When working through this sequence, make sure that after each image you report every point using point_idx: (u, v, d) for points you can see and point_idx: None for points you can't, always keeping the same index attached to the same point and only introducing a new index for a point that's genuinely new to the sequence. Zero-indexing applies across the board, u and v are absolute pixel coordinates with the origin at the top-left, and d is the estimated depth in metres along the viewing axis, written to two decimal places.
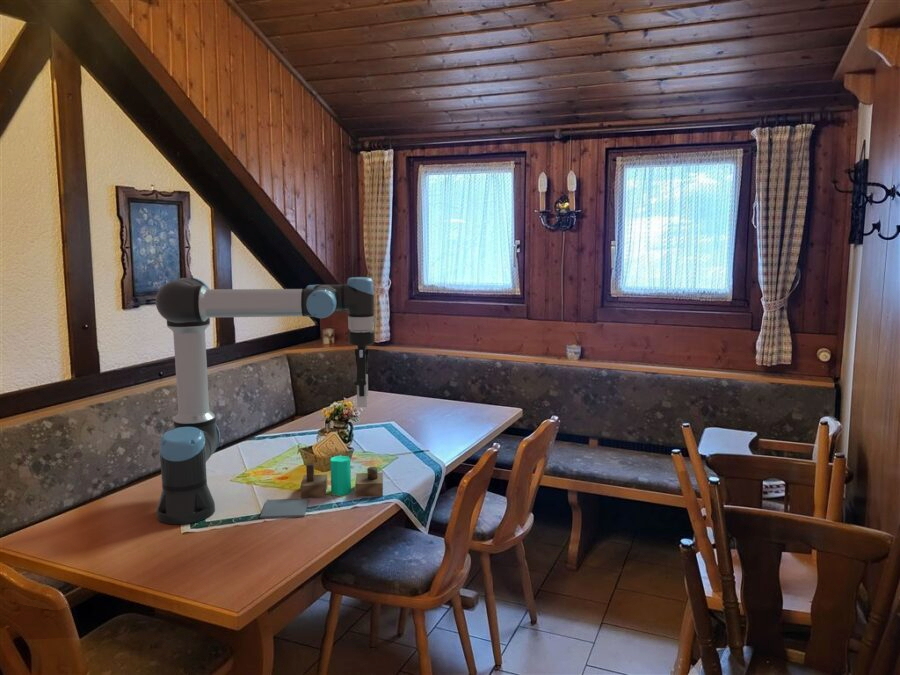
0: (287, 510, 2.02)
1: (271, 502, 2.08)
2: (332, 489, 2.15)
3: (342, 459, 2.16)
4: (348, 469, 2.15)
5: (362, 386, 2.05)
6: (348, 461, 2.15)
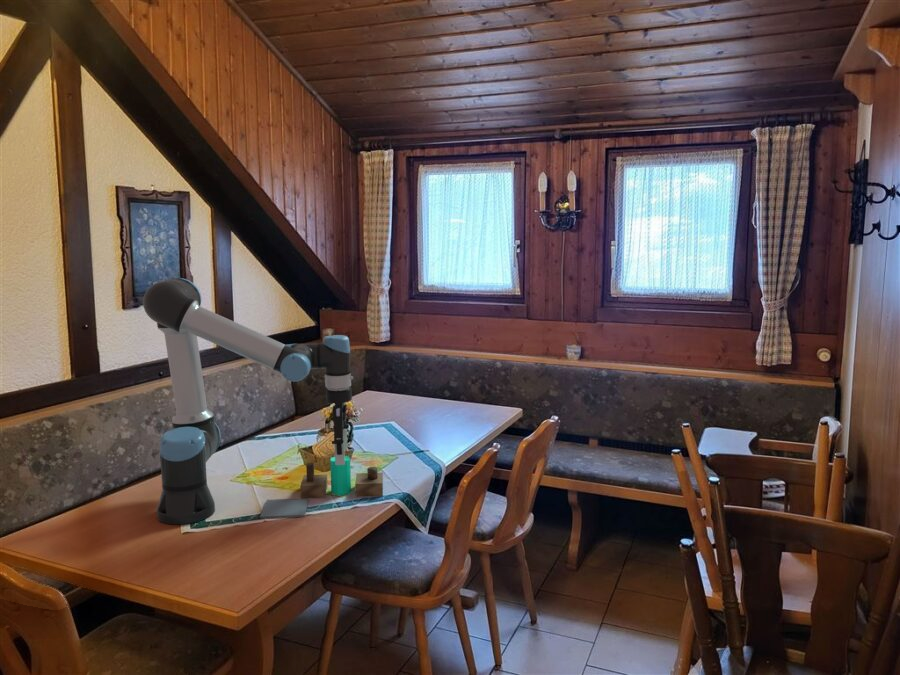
0: (287, 510, 2.02)
1: (271, 502, 2.08)
2: (332, 489, 2.15)
3: None
4: (348, 469, 2.15)
5: (339, 445, 2.06)
6: (348, 461, 2.15)
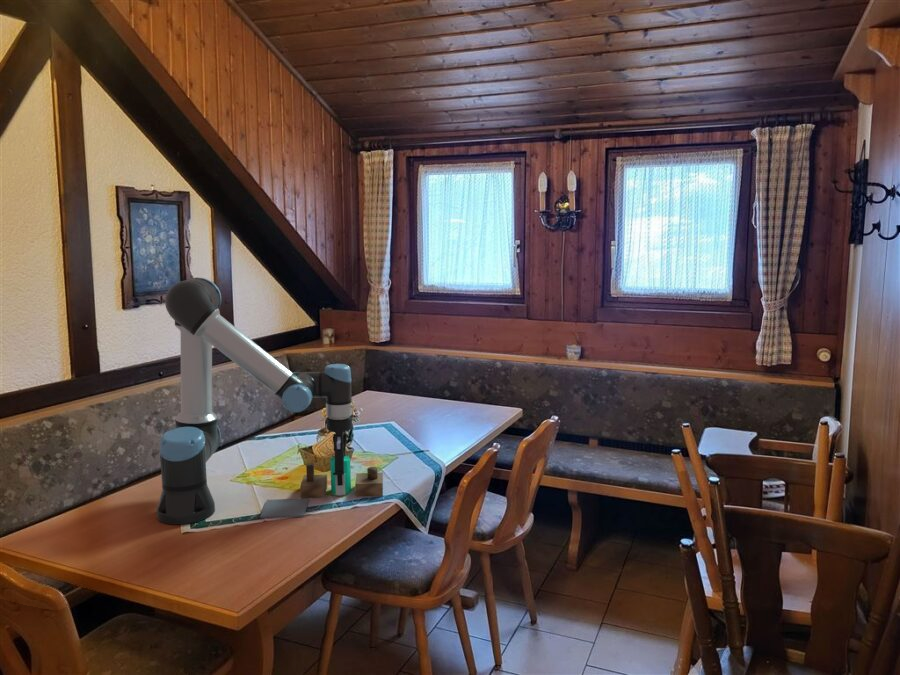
0: (287, 510, 2.02)
1: (271, 502, 2.08)
2: (332, 489, 2.15)
3: None
4: (348, 469, 2.15)
5: (340, 476, 2.12)
6: (348, 461, 2.15)
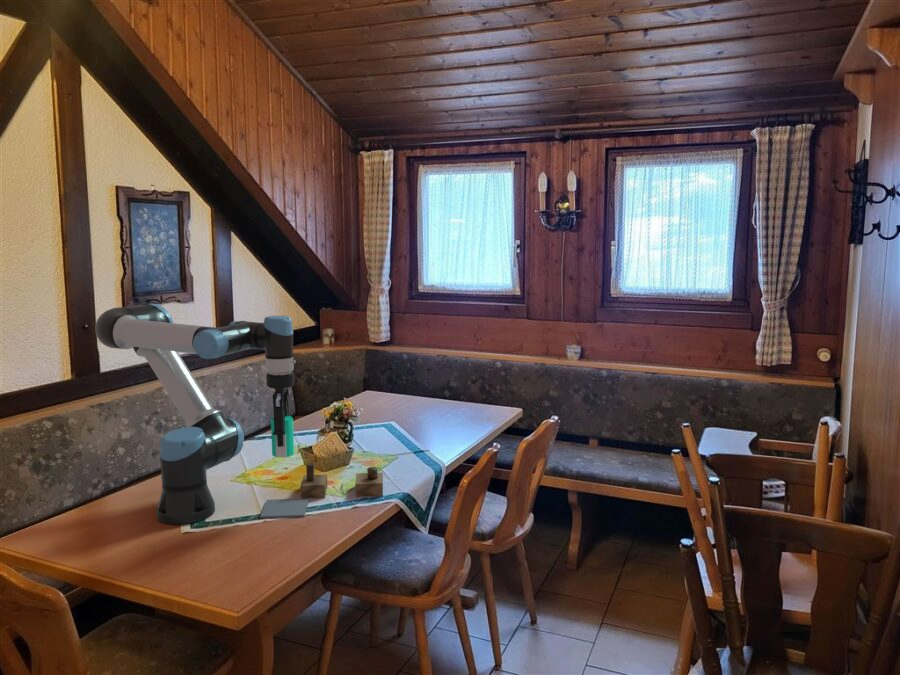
0: (287, 510, 2.02)
1: (271, 502, 2.08)
2: (273, 450, 2.00)
3: None
4: (290, 429, 1.99)
5: (280, 436, 1.96)
6: (290, 420, 1.99)
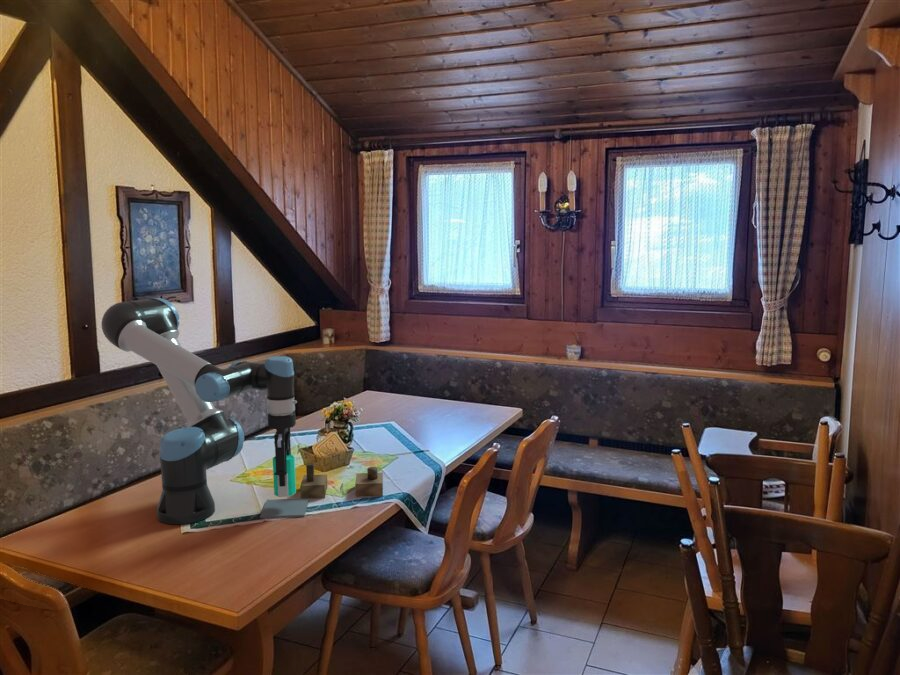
0: (287, 510, 2.02)
1: (271, 502, 2.08)
2: (275, 490, 2.01)
3: None
4: (292, 468, 2.01)
5: (282, 476, 1.98)
6: (291, 460, 2.01)
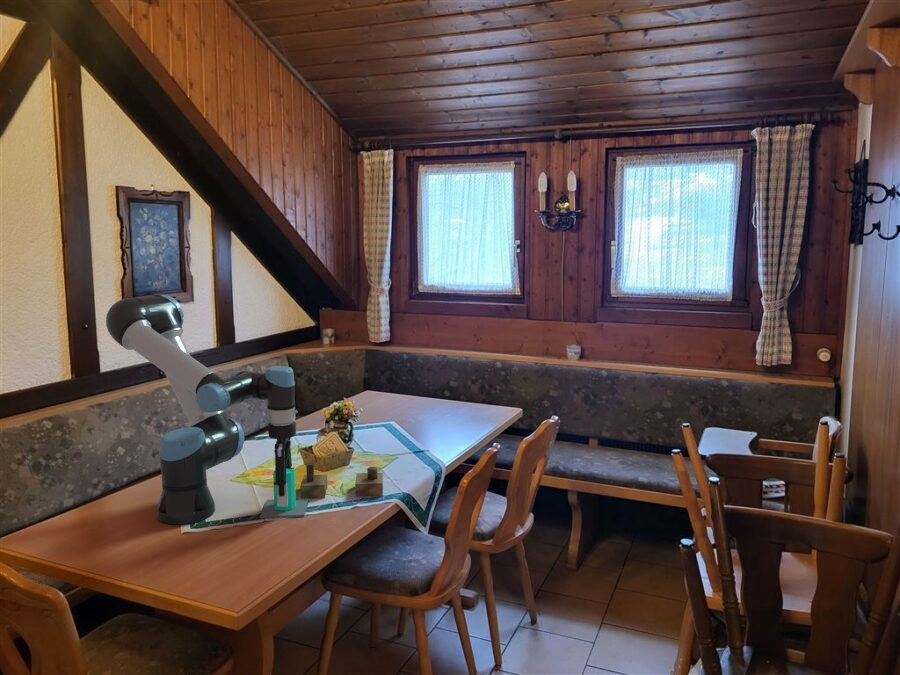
0: (287, 510, 2.02)
1: (271, 502, 2.08)
2: (275, 503, 2.02)
3: (286, 472, 2.03)
4: (292, 482, 2.02)
5: (282, 486, 1.97)
6: (292, 474, 2.02)
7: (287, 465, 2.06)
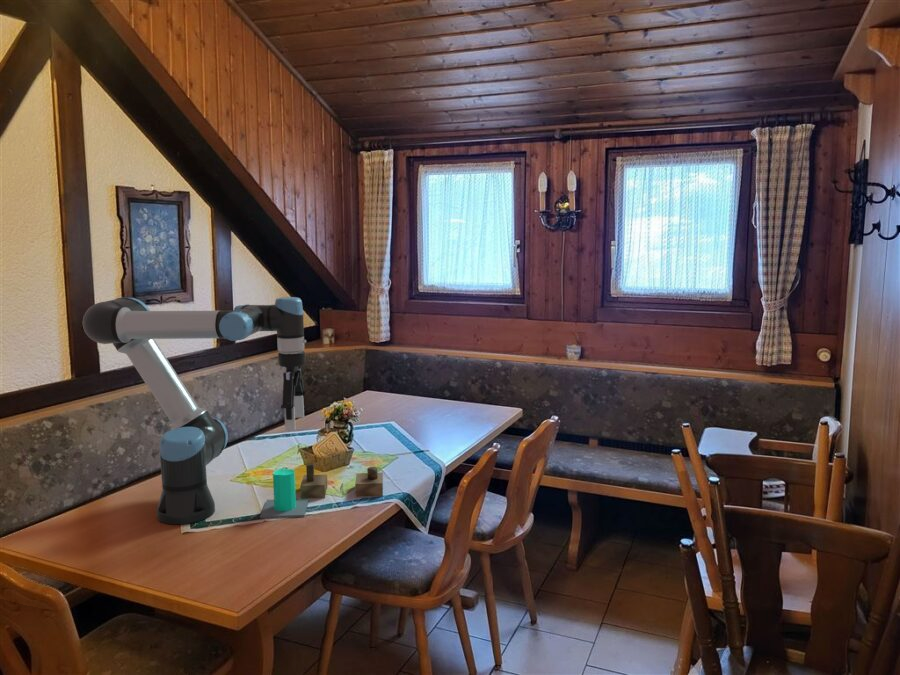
0: None
1: (271, 502, 2.08)
2: (275, 504, 2.02)
3: (286, 472, 2.03)
4: (292, 483, 2.02)
5: (289, 409, 2.00)
6: (292, 475, 2.01)
7: (299, 390, 2.14)
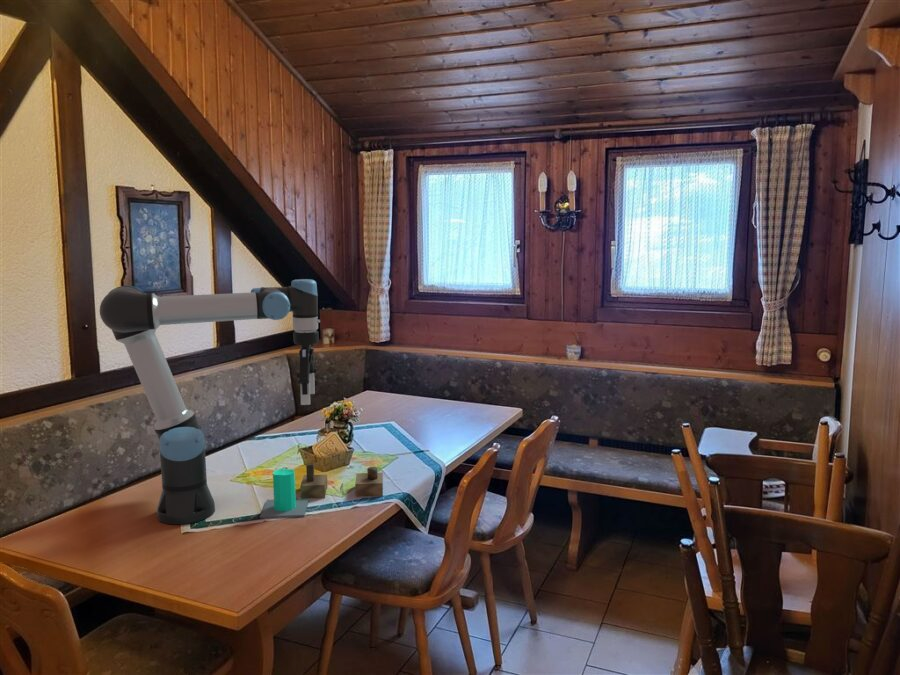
0: None
1: (271, 502, 2.08)
2: (275, 504, 2.02)
3: (286, 472, 2.03)
4: (292, 483, 2.02)
5: (305, 384, 2.12)
6: (292, 475, 2.01)
7: (310, 368, 2.26)
